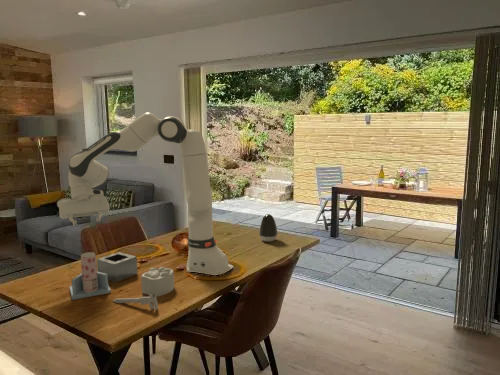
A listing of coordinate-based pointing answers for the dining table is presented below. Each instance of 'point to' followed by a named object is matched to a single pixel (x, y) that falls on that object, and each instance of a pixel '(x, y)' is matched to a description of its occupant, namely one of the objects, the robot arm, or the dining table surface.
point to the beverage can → (89, 272)
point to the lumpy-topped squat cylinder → (158, 281)
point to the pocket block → (117, 266)
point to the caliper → (140, 301)
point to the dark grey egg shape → (268, 228)
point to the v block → (102, 289)
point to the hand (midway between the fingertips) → (87, 223)
